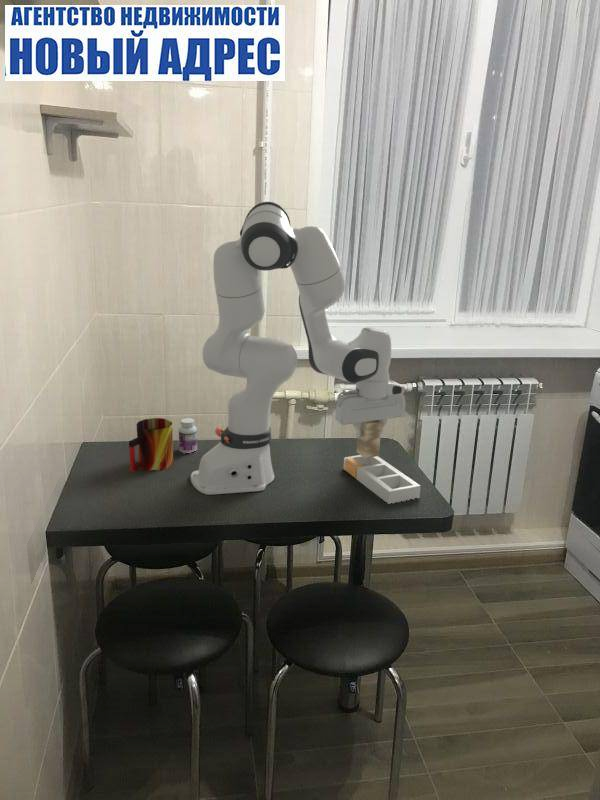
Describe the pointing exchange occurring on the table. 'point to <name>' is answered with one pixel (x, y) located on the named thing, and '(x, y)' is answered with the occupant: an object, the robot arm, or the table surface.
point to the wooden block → (369, 439)
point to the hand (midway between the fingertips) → (368, 435)
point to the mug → (152, 445)
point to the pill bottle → (187, 436)
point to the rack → (382, 478)
